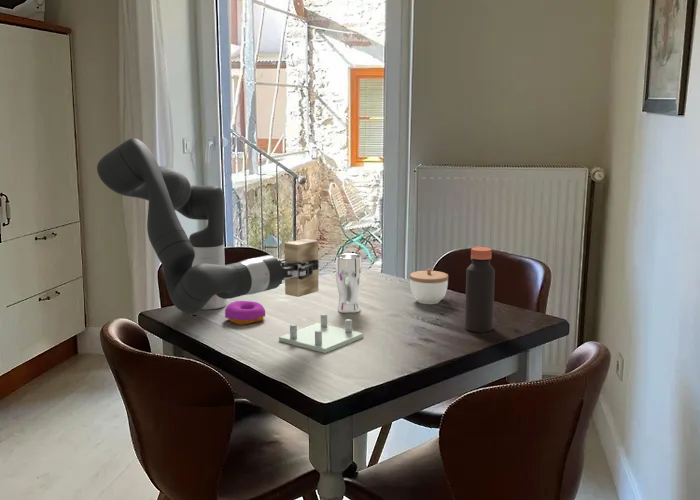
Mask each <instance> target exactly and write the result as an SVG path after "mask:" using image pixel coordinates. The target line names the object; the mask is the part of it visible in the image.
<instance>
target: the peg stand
mask: <svg viewBox="0 0 700 500" xmlns="http://www.w3.org/2000/svg"><path fill="white" fill-rule="evenodd" d="M297 328H298V325H297V324H290V325H289V333H286V334H283V335H279V336H278V341H279V342H281V343H286V344H289V345H293V346H296V347H300V348H304V349H307V350H312V351H315V352H319V353H322V354H323V353H324V354H326V353H329V352H332V351H333V350H336V349H339V348H341V347H343V346H345V345H348V344H351V343H353V342H355V341H359V339H362V338H364V332H359V331H354V330H353V319H349V318H347V319H345V320H344V328H341V327H339V326H334V325H328V314H327V313H321V314H320V322H316V323H314V324H311V325H309V326H306V327H303V328H299V329H297Z"/></svg>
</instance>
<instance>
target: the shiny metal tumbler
mask: <svg viewBox="0 0 700 500" xmlns="http://www.w3.org/2000/svg"><path fill="white" fill-rule="evenodd" d="M335 259H336V260H335V279H336V280H335V281H336V284H337V285H336V287H337V292H338V304H337V305H338V306H337V311H338V313H341V314H348V315H349V314H356V313H359V312H360V311H361V306H360V299H359V297H360V289H361V283H362V275H363V273H362V272H363V269H362V256H361V254H358V253H342V254H341V253H340V254H337V255H336V258H335Z"/></svg>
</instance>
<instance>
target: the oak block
mask: <svg viewBox="0 0 700 500" xmlns="http://www.w3.org/2000/svg"><path fill="white" fill-rule="evenodd" d="M283 244H284V245H283V246H284V259H286V261H287V262H291V261H299V262H305V261H311V260H318V261H319V240H316V239H315V240H314V239H308V238H304V239H303V238H302V239H299V240H293V241H292V240H291V241H287V242H284V243H283ZM294 266H295V264H294ZM302 266H303V265H302ZM284 291H285V292H284V293H285V294H284V295H288V296H292V297H295V298H296V297H297V298H299V297H302V296H306V295H310V294H314V293H317V292H319V268H318V269H317V270H313V274H312V275H310V276H308V277H306V278H304V279H302V280H301V279H298V277H292V278H290V279H286V280H284Z"/></svg>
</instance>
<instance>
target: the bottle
mask: <svg viewBox="0 0 700 500" xmlns="http://www.w3.org/2000/svg"><path fill="white" fill-rule="evenodd" d="M470 248H471V249H470V260H471V264H469V265H468V267H467V268H466V270H465V271H466V273H465V274H466V276H465V277H466V278H465V307H464V308H465V311H464V312H465V314H464V327H465V329H466V330H467V331H469V332H473V333H488V332H490V331H492V330H493V328H494V309H495V304H494V303H495V283H496V282H495V280H496V277H495V276H496V269H495V268H494V267H493V266H492V264H491V261H492V251H493V249H492V248H490V247H485V246H483V247H482V246H477V247H470Z"/></svg>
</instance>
